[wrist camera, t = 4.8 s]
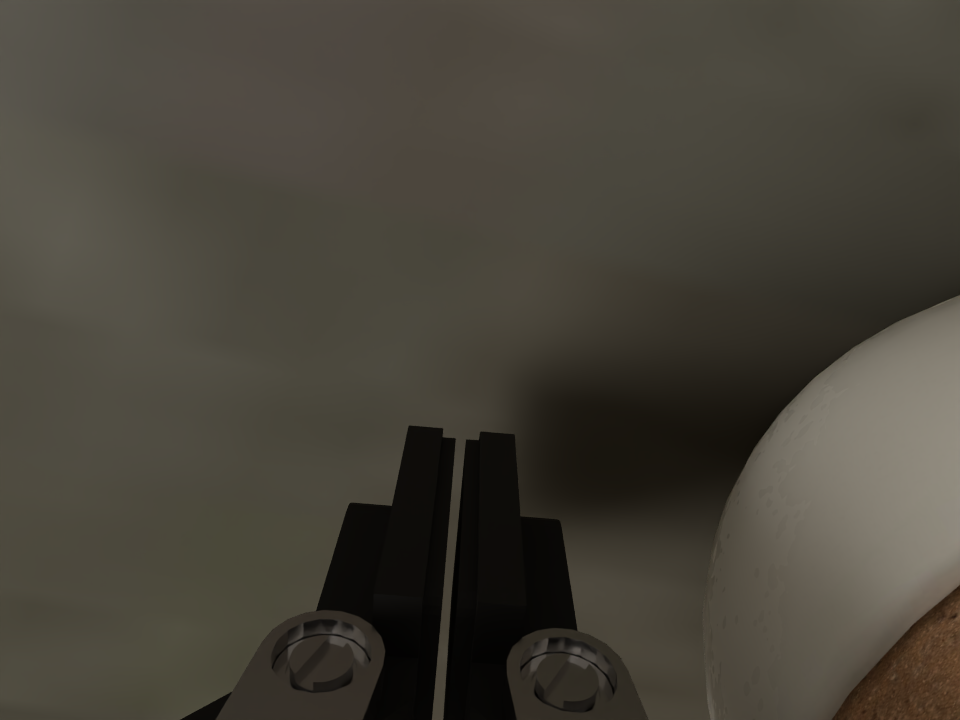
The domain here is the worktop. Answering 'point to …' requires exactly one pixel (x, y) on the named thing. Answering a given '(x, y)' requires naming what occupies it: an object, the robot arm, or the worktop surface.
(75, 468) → the worktop surface
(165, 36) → the worktop surface
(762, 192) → the worktop surface
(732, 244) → the worktop surface
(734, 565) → the lidded jar
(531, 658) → the robot arm
